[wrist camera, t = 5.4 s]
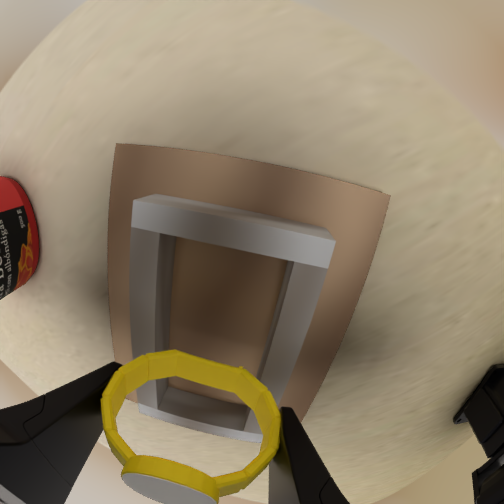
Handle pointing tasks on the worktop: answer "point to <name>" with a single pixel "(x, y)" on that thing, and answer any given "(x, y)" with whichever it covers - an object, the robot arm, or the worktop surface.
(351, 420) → the worktop surface
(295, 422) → the robot arm
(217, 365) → the watch
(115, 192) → the track board
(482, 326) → the worktop surface
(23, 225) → the canned food
